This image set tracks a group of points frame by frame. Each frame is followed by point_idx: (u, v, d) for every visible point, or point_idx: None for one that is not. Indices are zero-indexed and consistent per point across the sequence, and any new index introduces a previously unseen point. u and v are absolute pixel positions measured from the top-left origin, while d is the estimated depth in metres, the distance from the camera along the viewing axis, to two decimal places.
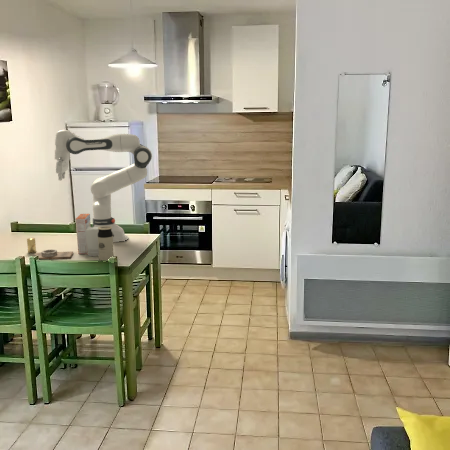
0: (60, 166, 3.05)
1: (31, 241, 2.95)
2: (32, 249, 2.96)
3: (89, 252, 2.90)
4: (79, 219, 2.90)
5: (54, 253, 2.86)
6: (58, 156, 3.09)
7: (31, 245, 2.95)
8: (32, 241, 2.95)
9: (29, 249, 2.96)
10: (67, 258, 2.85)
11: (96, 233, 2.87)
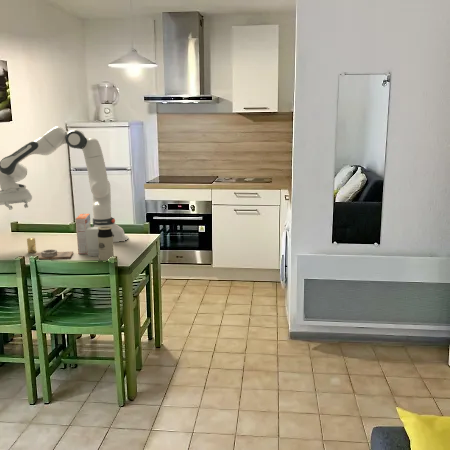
0: None
1: (31, 241, 2.95)
2: (32, 249, 2.96)
3: (89, 252, 2.90)
4: (79, 219, 2.90)
5: (54, 253, 2.86)
6: None
7: (31, 245, 2.95)
8: (32, 241, 2.95)
9: (29, 249, 2.96)
10: (67, 258, 2.85)
11: (96, 233, 2.87)
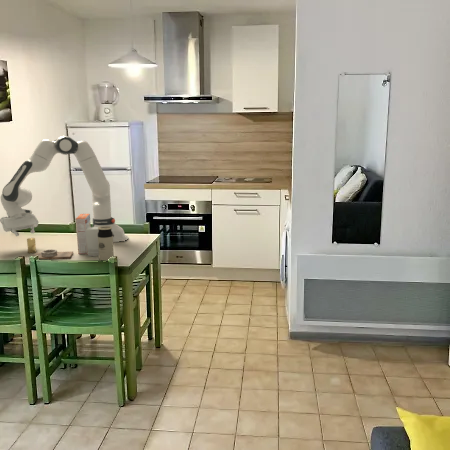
0: (3, 223, 2.95)
1: (31, 241, 2.95)
2: (32, 249, 2.96)
3: (89, 252, 2.90)
4: (79, 219, 2.90)
5: (54, 253, 2.86)
6: None
7: (31, 245, 2.95)
8: (32, 241, 2.95)
9: (29, 249, 2.96)
10: (67, 258, 2.85)
11: (96, 233, 2.87)
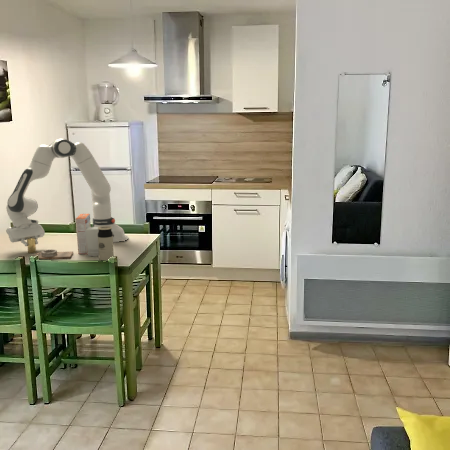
0: (9, 234, 2.92)
1: (31, 241, 2.95)
2: (32, 249, 2.96)
3: (89, 252, 2.90)
4: (79, 219, 2.90)
5: (54, 253, 2.86)
6: None
7: (31, 245, 2.95)
8: (32, 241, 2.95)
9: (29, 249, 2.96)
10: (67, 258, 2.85)
11: (96, 233, 2.87)
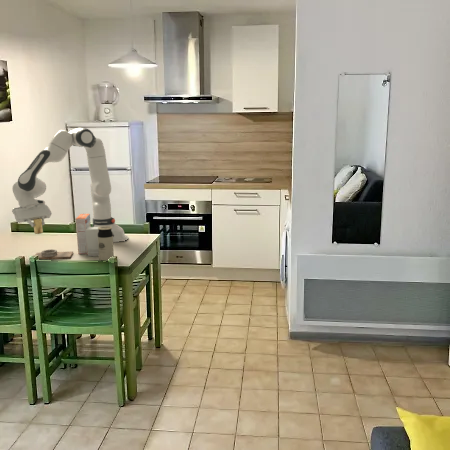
0: (15, 214, 2.85)
1: (37, 221, 2.88)
2: (39, 230, 2.89)
3: (89, 252, 2.90)
4: (79, 219, 2.90)
5: (54, 253, 2.86)
6: None
7: (38, 226, 2.88)
8: (39, 221, 2.88)
9: (36, 230, 2.89)
10: (67, 258, 2.85)
11: (96, 233, 2.87)
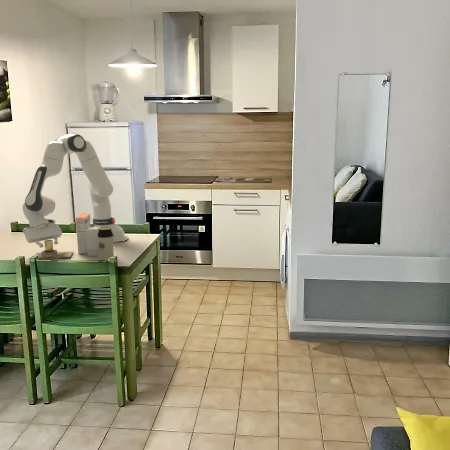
0: (26, 234, 2.82)
1: (49, 243, 2.85)
2: (50, 251, 2.86)
3: (89, 252, 2.90)
4: (79, 219, 2.90)
5: (54, 253, 2.86)
6: None
7: (49, 247, 2.85)
8: (50, 243, 2.85)
9: (47, 251, 2.86)
10: (67, 258, 2.85)
11: (96, 233, 2.87)
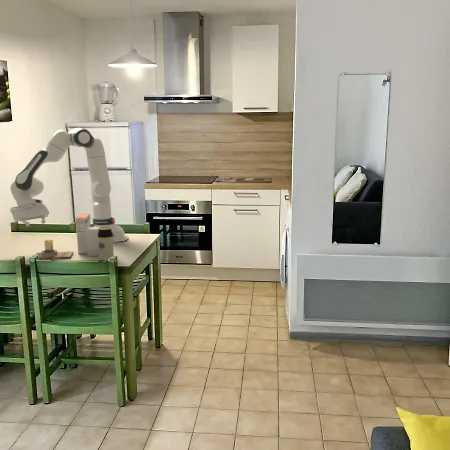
0: (13, 213, 2.89)
1: (49, 243, 2.85)
2: (50, 251, 2.86)
3: (89, 252, 2.90)
4: (79, 219, 2.90)
5: (54, 253, 2.86)
6: None
7: (49, 247, 2.85)
8: (50, 243, 2.85)
9: (47, 251, 2.86)
10: (67, 258, 2.85)
11: (96, 233, 2.87)
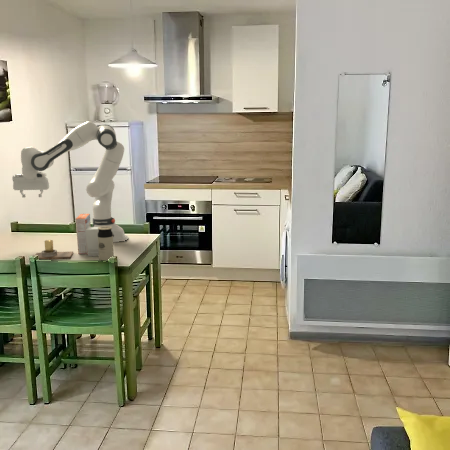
0: None
1: (49, 243, 2.85)
2: (50, 251, 2.86)
3: (89, 252, 2.90)
4: (79, 219, 2.90)
5: (54, 253, 2.86)
6: None
7: (49, 247, 2.85)
8: (50, 243, 2.85)
9: (47, 251, 2.86)
10: (67, 258, 2.85)
11: (96, 233, 2.87)
